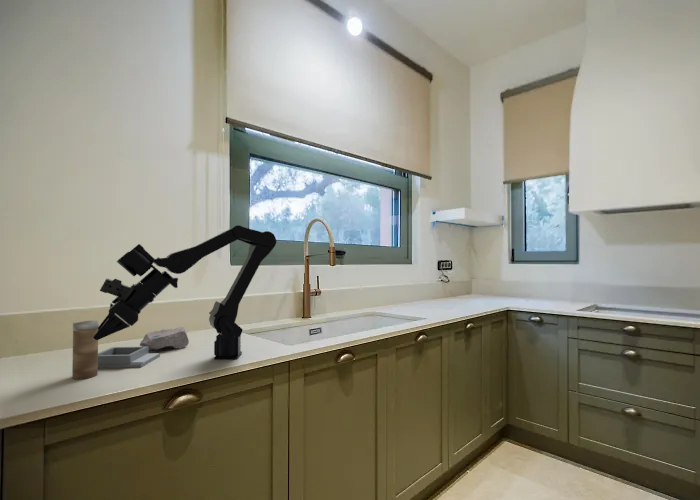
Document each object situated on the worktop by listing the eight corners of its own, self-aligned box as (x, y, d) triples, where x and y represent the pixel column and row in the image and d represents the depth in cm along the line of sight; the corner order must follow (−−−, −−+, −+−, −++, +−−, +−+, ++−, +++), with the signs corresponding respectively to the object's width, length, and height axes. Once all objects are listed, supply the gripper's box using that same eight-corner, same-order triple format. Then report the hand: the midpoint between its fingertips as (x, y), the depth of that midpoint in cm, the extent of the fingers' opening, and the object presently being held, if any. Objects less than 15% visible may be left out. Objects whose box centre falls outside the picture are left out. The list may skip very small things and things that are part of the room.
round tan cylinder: (102, 372, 93) (103, 320, 93) (89, 379, 87) (90, 324, 88) (81, 373, 92) (81, 320, 93) (66, 379, 87) (67, 324, 87)
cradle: (160, 356, 108) (160, 345, 108) (141, 367, 97) (141, 355, 97) (102, 357, 107) (103, 346, 107) (77, 368, 96) (77, 356, 96)
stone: (144, 355, 110) (144, 334, 110) (139, 348, 117) (139, 329, 118) (191, 349, 118) (191, 330, 118) (184, 343, 125) (184, 326, 126)
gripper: (122, 266, 102) (72, 309, 96) (123, 268, 86) (62, 319, 80) (154, 294, 106) (107, 336, 100) (160, 300, 90) (104, 351, 84)
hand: (95, 335), depth 91 cm, fingers open, 9 cm apart
